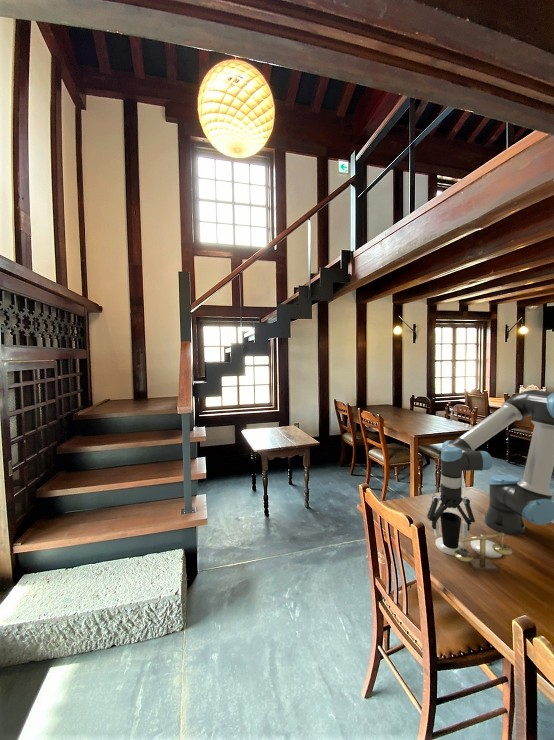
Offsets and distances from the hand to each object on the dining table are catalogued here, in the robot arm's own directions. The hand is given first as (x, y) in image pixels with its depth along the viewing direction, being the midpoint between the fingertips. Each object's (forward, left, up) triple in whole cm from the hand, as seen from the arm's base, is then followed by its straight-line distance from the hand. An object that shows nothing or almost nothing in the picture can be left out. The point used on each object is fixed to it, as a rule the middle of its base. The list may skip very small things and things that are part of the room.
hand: (450, 536), depth 130 cm
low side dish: (0, 0, -5) cm, 5 cm away
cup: (0, 0, -4) cm, 4 cm away
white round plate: (-14, 0, -5) cm, 15 cm away
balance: (-7, +11, -5) cm, 14 cm away
